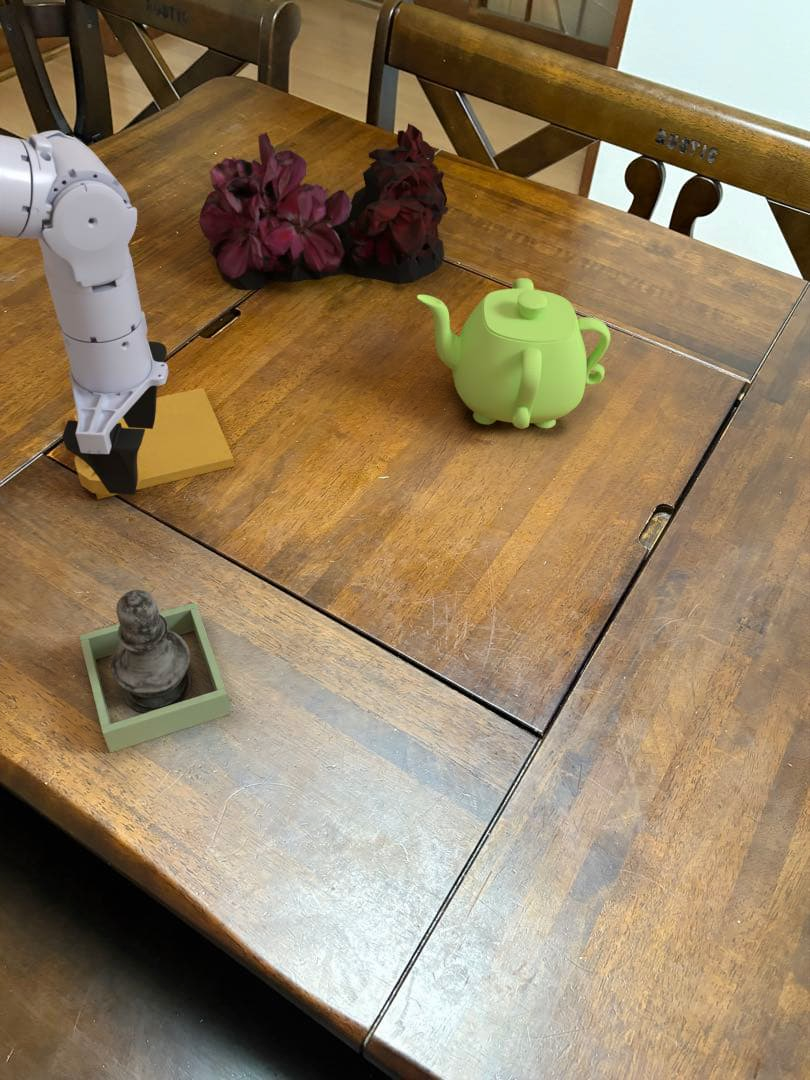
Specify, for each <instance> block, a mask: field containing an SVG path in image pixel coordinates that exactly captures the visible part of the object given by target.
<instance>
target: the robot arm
mask: <svg viewBox="0 0 810 1080" xmlns="http://www.w3.org/2000/svg"><path fill="white" fill-rule="evenodd" d="M137 221H138V209H137V207H135V206H132V204H131V200H130V197H129V195H128V193H127V191H126V189H125V188H124V186H123V185H122V184H121V183H120V182H119V181H118V179H117V178H116V177H115V176H114V174H113V173H112V172H111V170H110V169H109V168H108V167H107V166H106V165H105V163H103V161H102V160H101V159H100V158H99V157H98V156H97V154H96V153H95V152H94V151H93V150H92V149H91V148H90V147H88V145H86V144H85V143H83V142H82V141H81V140H80V139H77V138H76V137H73V136H70V135H67V134H65V133H64V132H62V131H60V130H55V129H54V130H46V131H42V132H39V133H37V134H35V133H30V134H29V136H28V139H22V138H19V137H18V138H17V137H12V136H8V135H3V134H0V236H1V237H8V238H16V239H23V240H32V239H33V240H34V239H35V240H36V239H37V240H38V243H39V247H40V250H41V254H42V258H43V271H44V275H45V277H46V281H47V286H48V289H49V293H50V296H51V300H52V304H53V307H54V311H55V314H56V318H57V322H58V326H59V330H60V334H61V336H62V342H63V345H64V348H65V353H66V356H67V361H68V363H69V379H70V384H71V390H72V394H73V399H74V400H73V401H74V405H75V410H76V415H77V417H78V421H75V420H67V422H66V425H65V428H64V430H63V433H62V440H63V444H64V447H65V449H66V450H67V451H68V452H69V453H72V454H73V455H74V456H78V457H79V458H81V459H82V460H83V461H85V462H86V463H87V464H88V465H89V466H90V467H91V468H92V469H93V471H94V472H95V473H96V475H97V476H98V477H99V479H100V480H101V482H102V483H103V485H104V486H105V488H106V489H107V490H108V492H109V493H110V494H118V495H135V494H136V491H137V490H136V487H137V481H138V472H137V453H138V450H139V448H140V446H141V443H142V439H143V436H144V432H145V429H134V428H146V429H153V426H154V422H155V415H156V398H157V397H158V387H162V386H163V385H165V384H166V383H167V379H168V377H169V373H170V372H169V365H168V364H167V363H166V362H165V361H166V358H167V355H168V351H167V347H166V345H165V344H164V343H162V342H159V341H149V339H148V337H147V334H148V332H149V331H148V324H147V321H146V313H145V311H143V310H142V307H141V299H140V295H139V290H138V285H137V279H136V273H135V268H134V262H133V258H132V255H131V253H130V248H129V243H130V242H131V240H132V238H133V236H134V233H135V231H136V228H137ZM122 417H123V419H124V421H125V423H126V424H127V426H128V427H129V428H122V425H121V423H118V421H119V420H120V419H121V418H122ZM117 423H118V424H117Z"/></svg>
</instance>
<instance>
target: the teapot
mask: <svg viewBox="0 0 810 1080" xmlns="http://www.w3.org/2000/svg"><path fill="white" fill-rule="evenodd" d="M416 298H417V300H418V301H420V302H421V303H422V304H424V305H425V307H427V308H428V309H429V311H430V312H431V314H432V318H433V322H434V345H435V350H436V353H437V355H438V357H439V359H440V360H441V362H442V363H443V364H444V366H446V367H448V369H451V370H452V379H453V384H454V387H455V389H456V392H457V394H458V396H459V397H460V399H461V401H462V402H463V403H464V404H465V406H466V407H468V409H469V410H471V412H473V413H472V417H473V419H474V421H475V422H477V423H479V424H481V425H491V424H494V423H495V422H496V421H501V422H505V423H510V424H511V423H512V425H513V426H514V427H515V428H517V429H519V430H523V429H526V428H528V427H529V426H530V424H533V425H535V427H538V428H541V429H550V428H553V427H554V426H555V425H556V424H557V421H556V420H557V419H561V418H562V417H564V416H566V415H567V414H569V413H570V412H572V411H573V410H575V409H576V408H577V407H578V405H580V403H581V401H582V399H583V398H584V394H585V390H586V386H595V385H599V384H600V383H601V382H602V381H603V380H604V377H605V368H604V366H603V365H602V364H600V363H599V361H601V359H602V358H603V356H604V355H605V353H606V352H607V350H608V348H609V345H610V342H611V331H610V329H609V327H608V326H607V325H606V323H604V322H603V321H602V320H600V319H598V318H595V317H590V316H588V317H587V316H585V317H577V314H576V311H575V308H574V306H573V305H572V303H571V302H570V301H569V300H568V299H567V298H565V297H563V296H562V295H559V294H557V293H553V292H549V291H545V290H540V289H535V287H534V282H533V281H532V279H530V278H527V277H519V278H516V279H515V280H514V281H513V283H512V287H511V288H505V289H498V290H494V291H491V292H489V293H488V294H486V295H485V296H484V297H483V298H482V299H481V300H480V301H479V302H478V304H477V305H476V307H475V308H474V309H473V311H472V312H471V313H470V314H469V316H468V317H467V319H466V320H465V322H464V324H463V326H462V329H461V330H460V332H459V335H457V334H455V333H454V332H453V331H452V329H451V324H450V323H451V322H450V313H449V309H448V307H447V305H446V303H444V301H442V300H440V299H439V298H437V297H435V296H432V295H428V294H417V295H416ZM582 331H592V332H596V333H598V334H599V335H600V339H599V341H598V343H597V345H596V346H595V348H594V349H593V351H592V352H591V353H590V355H589V356H588V357H587V350H586V345H585V341H584V336H583V332H582ZM591 372H595V373H591Z"/></svg>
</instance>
